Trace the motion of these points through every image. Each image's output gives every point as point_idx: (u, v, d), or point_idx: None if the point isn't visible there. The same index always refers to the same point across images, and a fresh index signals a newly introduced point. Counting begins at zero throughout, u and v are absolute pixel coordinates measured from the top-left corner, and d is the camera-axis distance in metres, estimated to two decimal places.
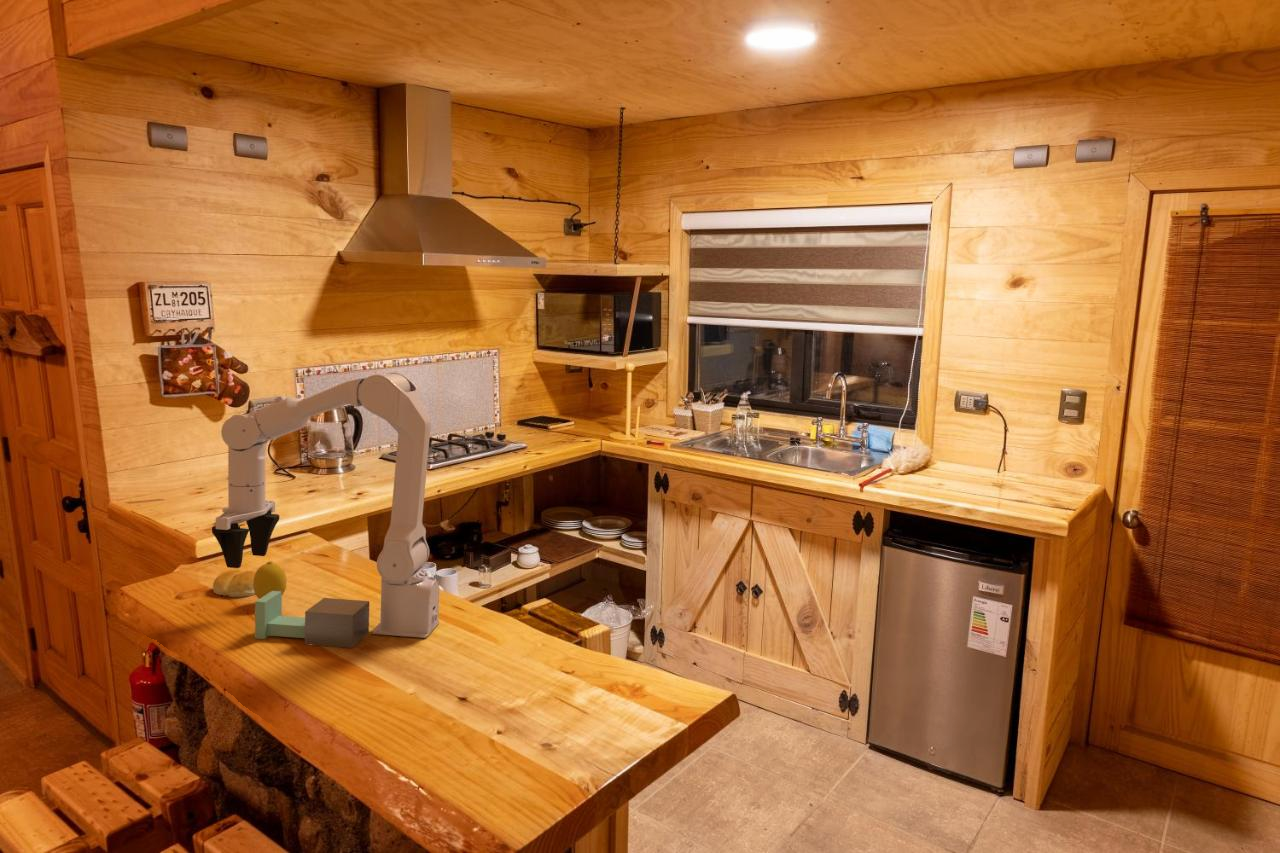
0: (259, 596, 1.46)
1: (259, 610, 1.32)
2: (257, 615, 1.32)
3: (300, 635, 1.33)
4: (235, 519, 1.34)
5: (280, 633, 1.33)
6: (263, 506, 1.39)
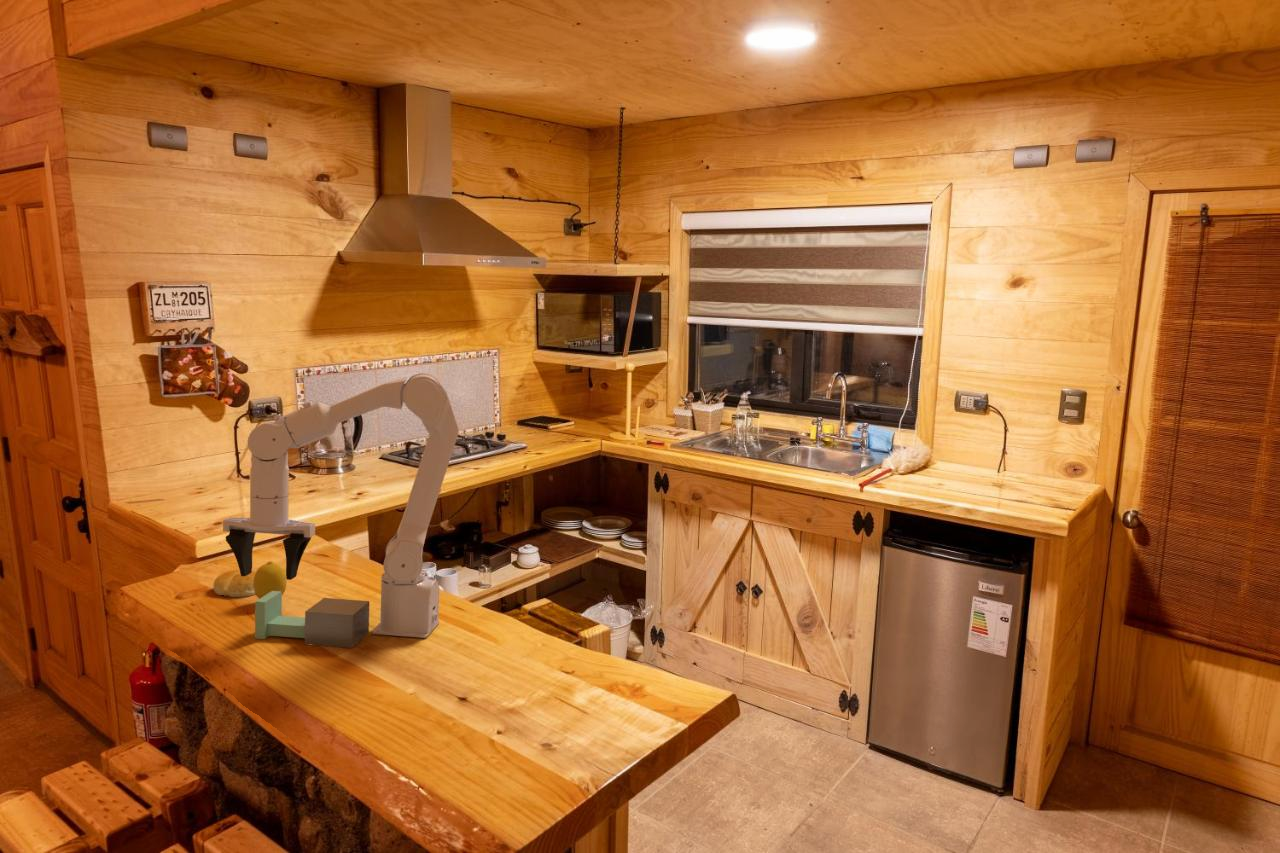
0: (259, 596, 1.46)
1: (259, 610, 1.32)
2: (257, 615, 1.32)
3: (300, 635, 1.33)
4: (233, 524, 1.32)
5: (280, 633, 1.33)
6: (262, 522, 1.30)
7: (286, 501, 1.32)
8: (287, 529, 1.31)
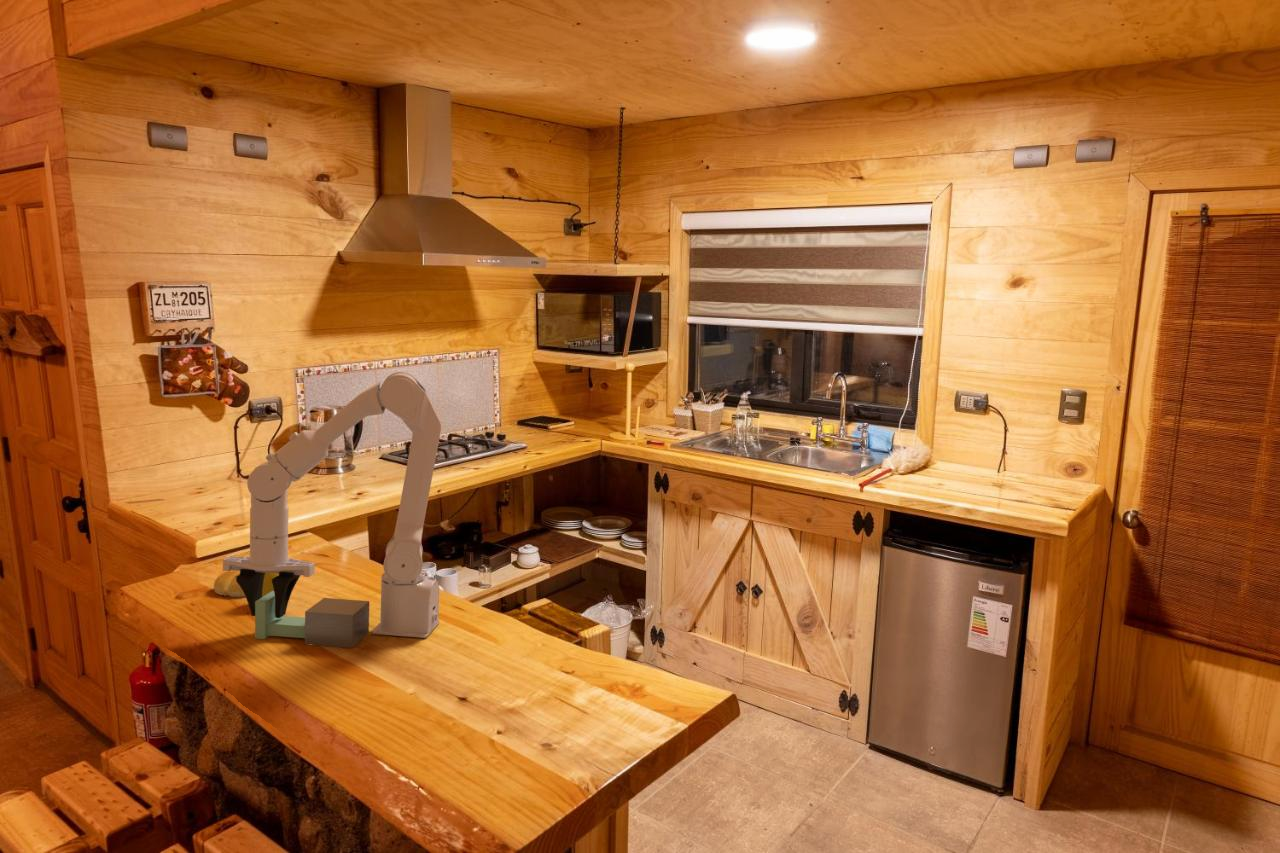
0: None
1: (259, 610, 1.32)
2: (257, 615, 1.32)
3: (300, 635, 1.33)
4: (232, 564, 1.33)
5: (280, 633, 1.33)
6: (262, 562, 1.31)
7: (286, 541, 1.33)
8: (287, 569, 1.32)
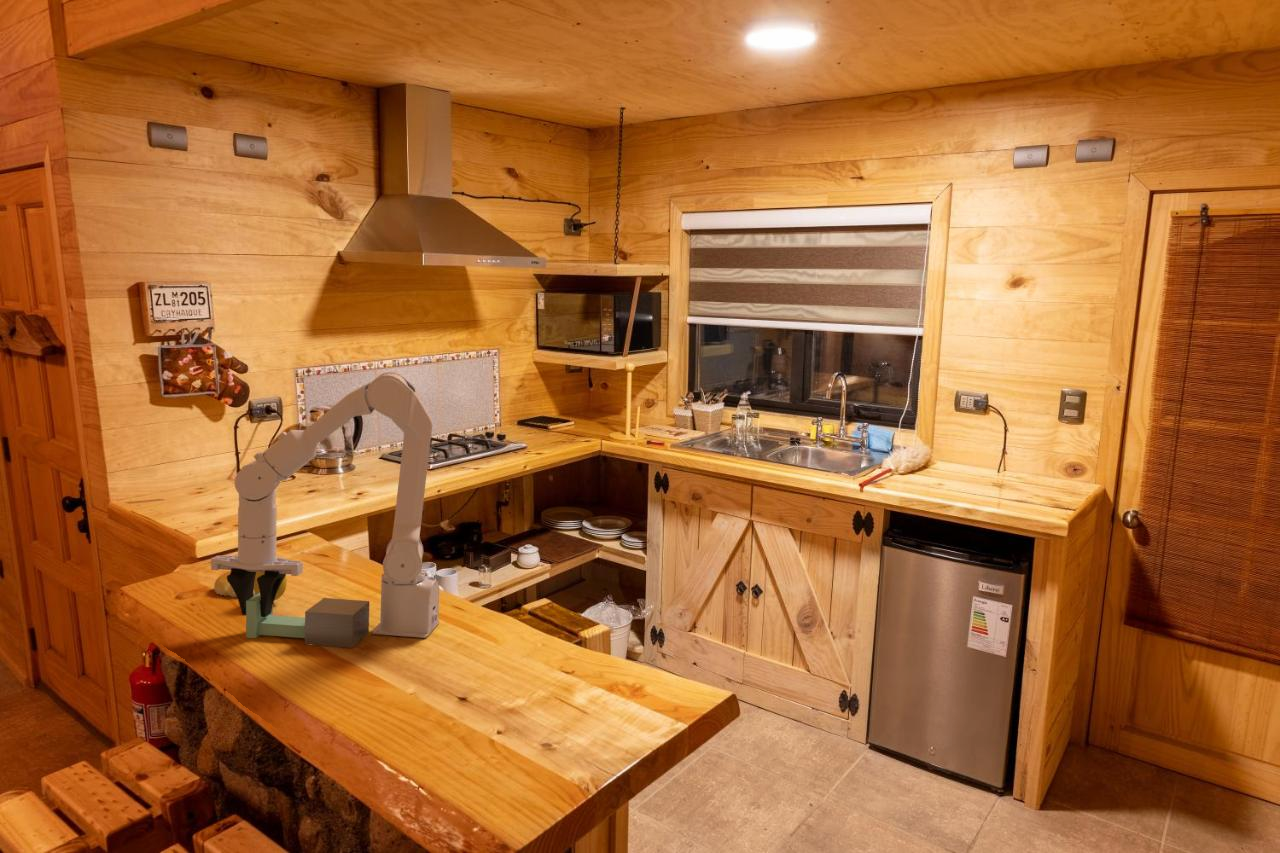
0: None
1: (250, 609, 1.32)
2: (248, 614, 1.32)
3: (291, 634, 1.33)
4: (221, 563, 1.33)
5: (271, 632, 1.33)
6: (249, 561, 1.31)
7: (274, 540, 1.33)
8: (275, 568, 1.32)
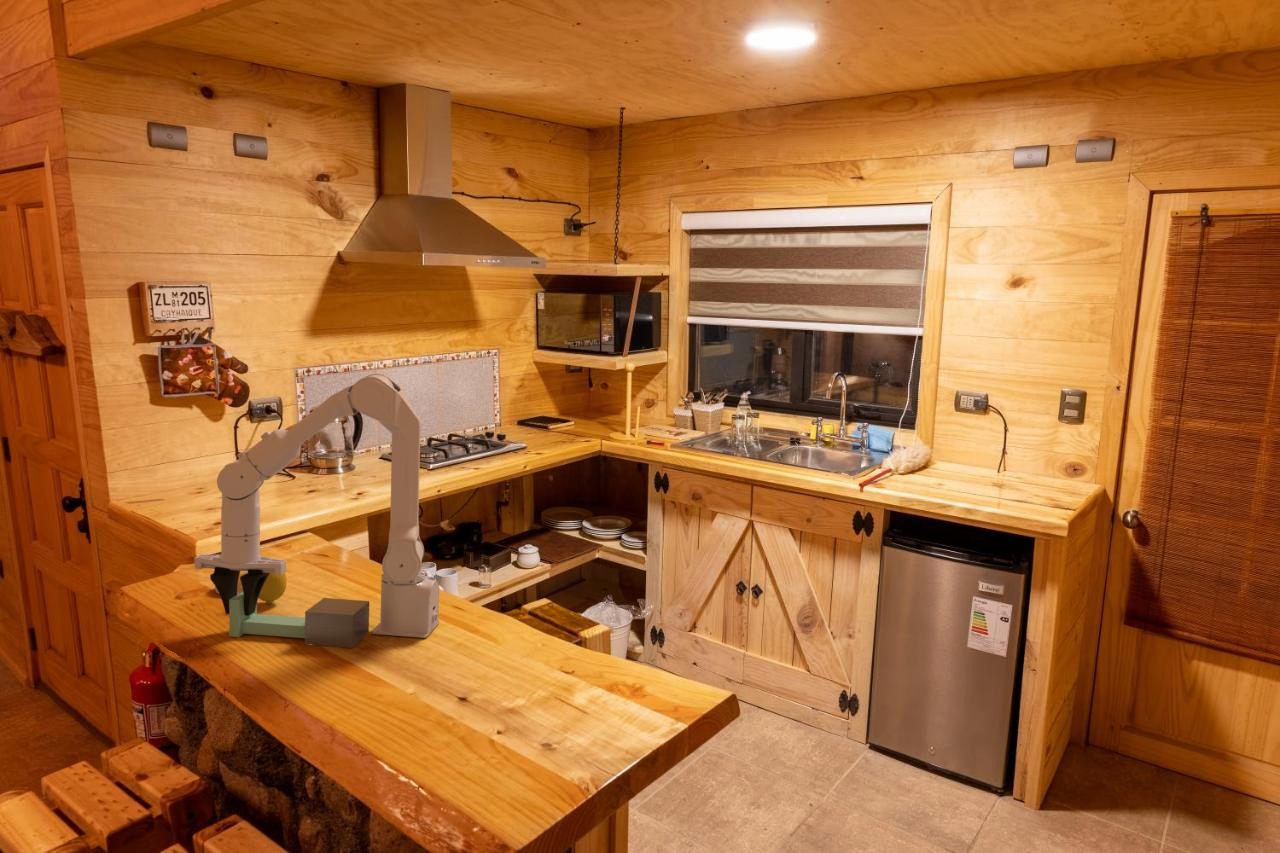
0: (259, 596, 1.46)
1: (233, 608, 1.32)
2: (231, 613, 1.32)
3: (274, 633, 1.33)
4: (204, 562, 1.33)
5: (254, 631, 1.33)
6: (233, 560, 1.31)
7: (257, 539, 1.33)
8: (258, 567, 1.32)
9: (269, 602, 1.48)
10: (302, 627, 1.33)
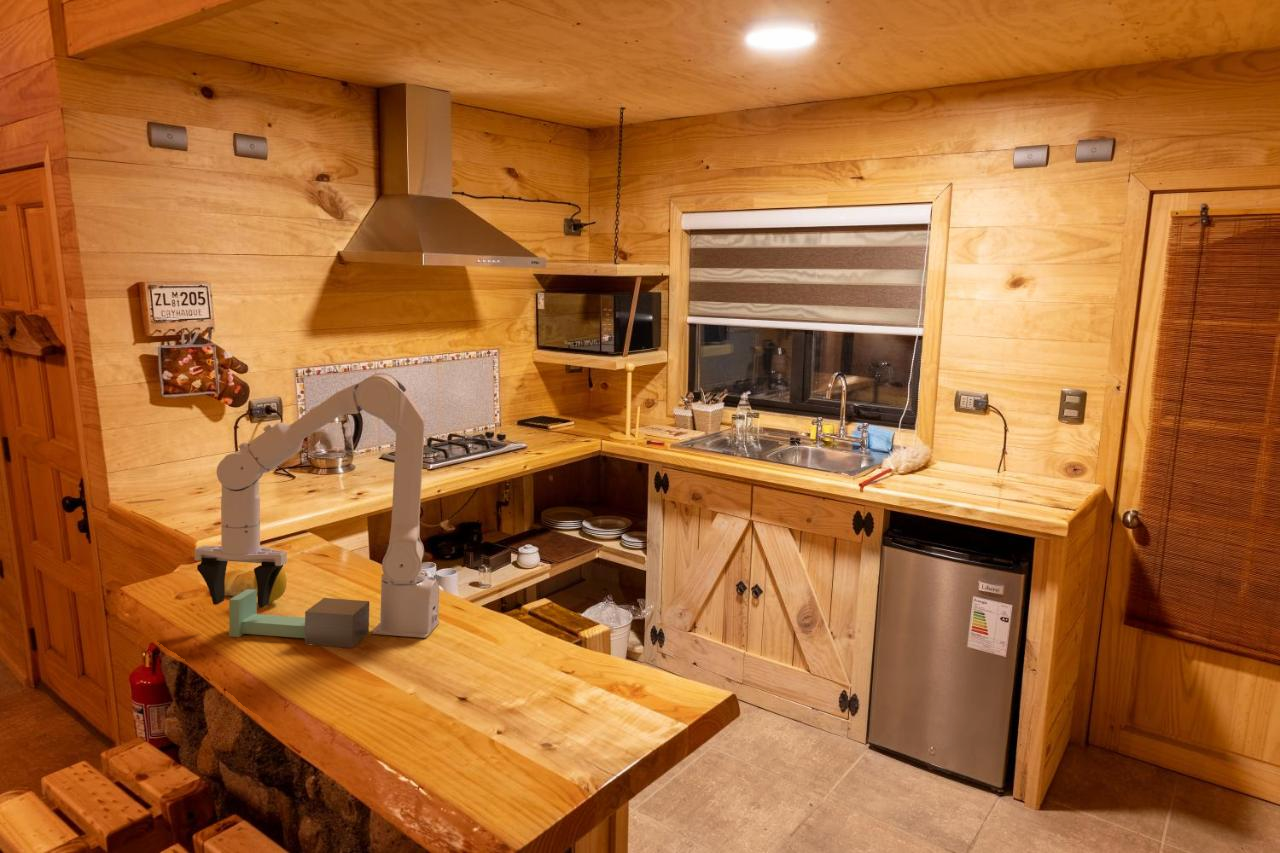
0: None
1: (233, 608, 1.32)
2: (231, 613, 1.32)
3: (274, 633, 1.33)
4: (204, 553, 1.33)
5: (254, 631, 1.33)
6: (233, 551, 1.31)
7: (257, 530, 1.33)
8: (258, 558, 1.32)
9: (269, 602, 1.48)
10: (302, 627, 1.33)
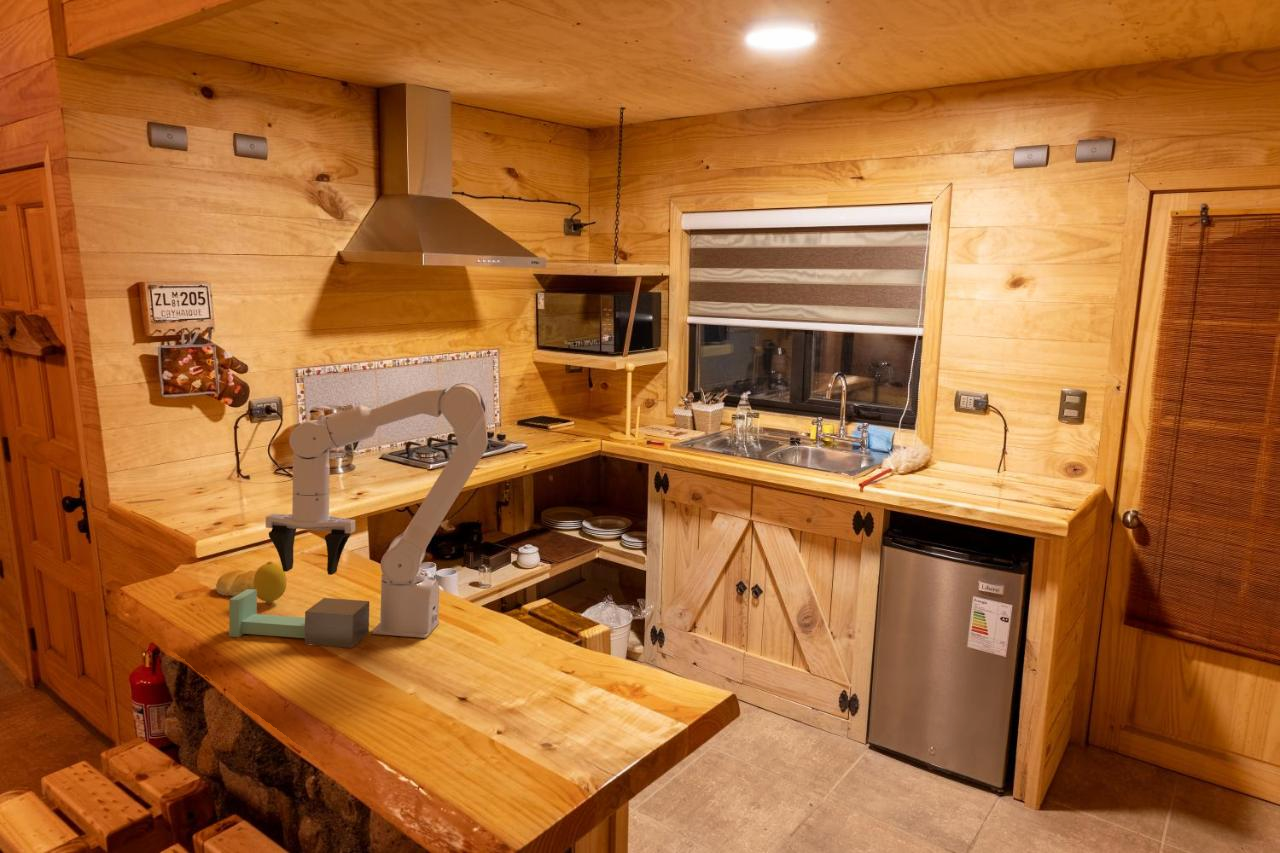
0: (259, 596, 1.46)
1: (233, 608, 1.32)
2: (231, 613, 1.32)
3: (274, 633, 1.33)
4: (275, 520, 1.35)
5: (254, 631, 1.33)
6: (304, 518, 1.33)
7: (327, 498, 1.36)
8: (329, 525, 1.34)
9: (269, 602, 1.48)
10: (302, 627, 1.33)
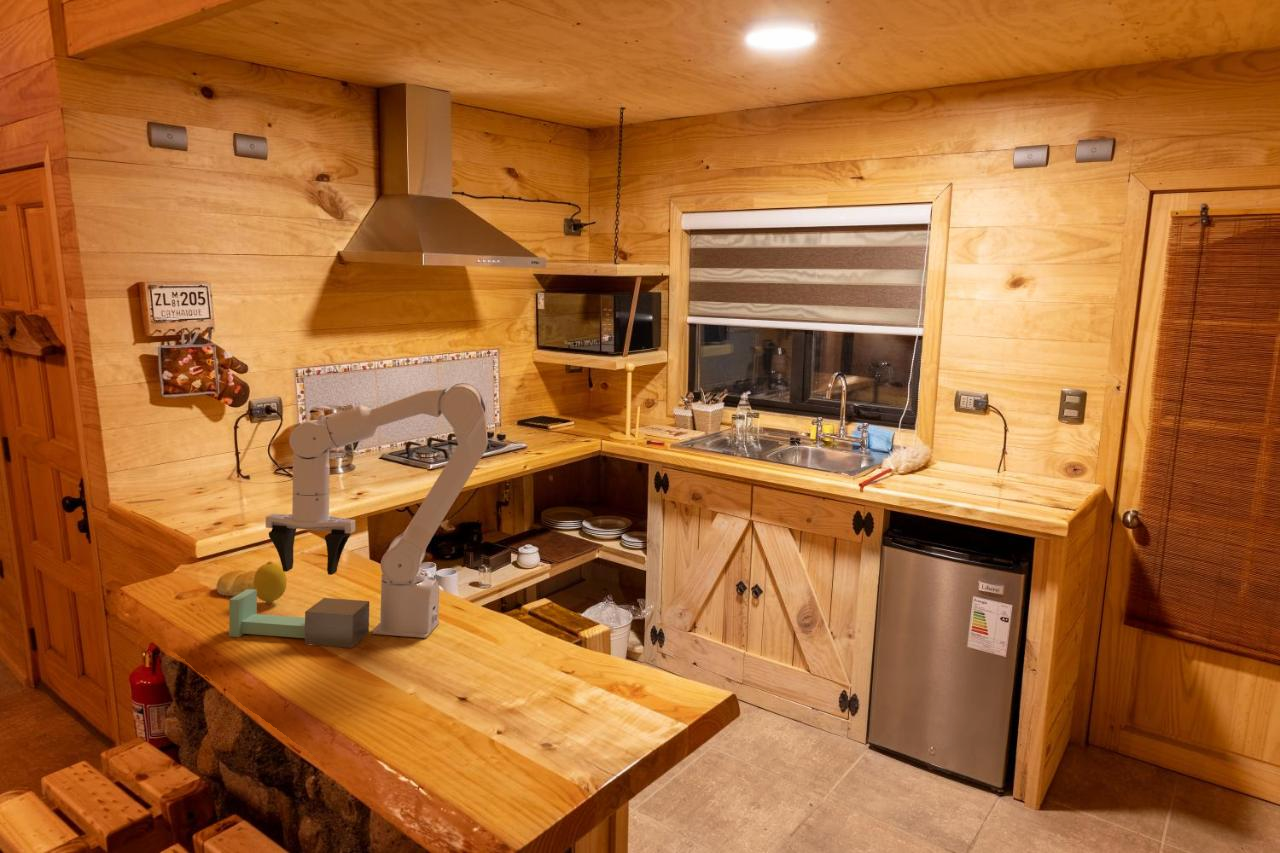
0: (259, 596, 1.46)
1: (233, 608, 1.32)
2: (231, 613, 1.32)
3: (274, 633, 1.33)
4: (275, 520, 1.35)
5: (254, 631, 1.33)
6: (304, 518, 1.33)
7: (327, 498, 1.36)
8: (329, 525, 1.34)
9: (269, 602, 1.48)
10: (302, 627, 1.33)
